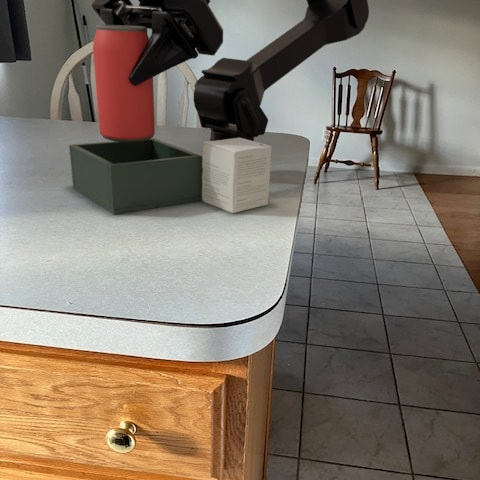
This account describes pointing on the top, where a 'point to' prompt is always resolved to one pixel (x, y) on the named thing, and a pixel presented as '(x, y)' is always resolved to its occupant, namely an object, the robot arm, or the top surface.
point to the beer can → (122, 84)
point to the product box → (236, 174)
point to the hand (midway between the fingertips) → (114, 79)
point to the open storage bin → (136, 174)
